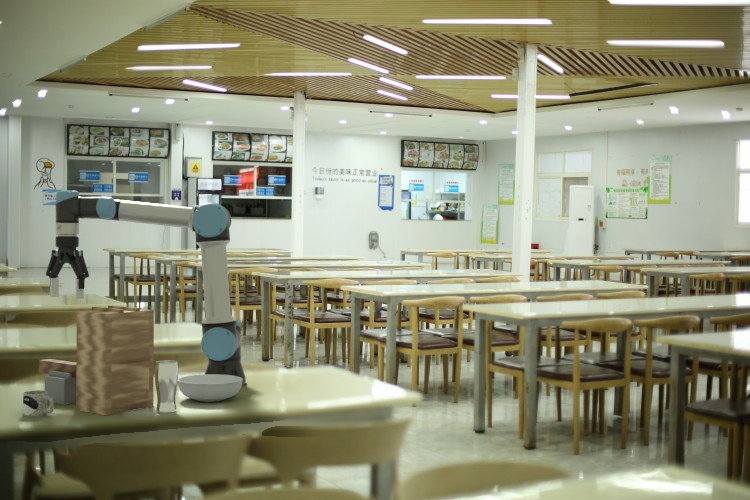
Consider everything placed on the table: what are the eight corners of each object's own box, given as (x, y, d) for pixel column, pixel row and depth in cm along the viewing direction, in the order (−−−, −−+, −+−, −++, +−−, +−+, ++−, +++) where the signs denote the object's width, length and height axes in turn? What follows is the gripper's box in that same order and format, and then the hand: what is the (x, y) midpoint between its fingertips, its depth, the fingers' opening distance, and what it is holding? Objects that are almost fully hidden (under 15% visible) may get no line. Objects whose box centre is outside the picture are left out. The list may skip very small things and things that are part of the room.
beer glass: (156, 414, 266) (156, 363, 265) (152, 409, 272) (152, 360, 272) (180, 412, 268) (180, 362, 268) (175, 408, 275) (175, 359, 275)
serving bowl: (243, 404, 282) (243, 383, 282) (175, 406, 279) (175, 384, 278) (241, 393, 303) (242, 373, 303) (178, 394, 299) (178, 374, 299)
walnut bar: (39, 372, 293) (39, 360, 293) (49, 370, 296) (49, 358, 296) (85, 379, 279) (85, 366, 279) (96, 377, 283) (96, 365, 283)
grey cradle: (44, 401, 285) (44, 371, 285) (76, 395, 295) (76, 367, 295) (64, 404, 279) (64, 374, 279) (95, 399, 289) (95, 370, 289)
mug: (18, 415, 262) (18, 393, 262) (34, 411, 268) (34, 389, 268) (45, 418, 258) (45, 395, 258) (61, 414, 264) (61, 392, 264)
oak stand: (76, 409, 271) (76, 308, 271) (123, 401, 286) (123, 304, 285) (106, 415, 263) (106, 310, 263) (153, 406, 278) (153, 306, 278)
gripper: (35, 235, 309) (35, 296, 309) (81, 235, 295) (81, 299, 295) (54, 235, 315) (53, 295, 315) (99, 236, 301) (99, 298, 301)
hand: (67, 297), depth 305 cm, fingers open, 13 cm apart
